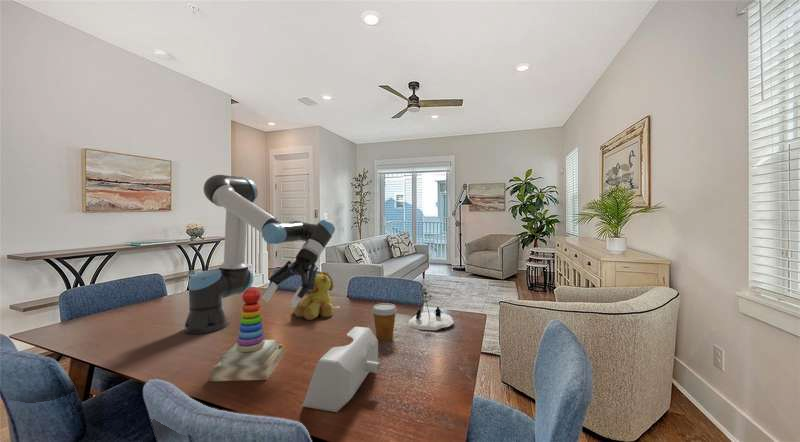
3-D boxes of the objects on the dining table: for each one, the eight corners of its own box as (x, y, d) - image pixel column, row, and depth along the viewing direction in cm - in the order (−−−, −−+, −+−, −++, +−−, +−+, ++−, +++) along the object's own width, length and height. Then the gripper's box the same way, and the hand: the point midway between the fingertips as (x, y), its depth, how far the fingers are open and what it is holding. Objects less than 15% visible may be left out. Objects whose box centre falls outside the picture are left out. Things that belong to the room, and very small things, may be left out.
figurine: (455, 316, 142) (451, 280, 142) (452, 331, 124) (448, 291, 124) (412, 317, 147) (408, 283, 146) (404, 332, 129) (399, 293, 129)
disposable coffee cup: (400, 334, 123) (400, 304, 123) (390, 343, 114) (389, 311, 114) (379, 330, 127) (379, 301, 127) (367, 339, 118) (367, 308, 118)
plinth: (210, 381, 89) (209, 360, 89) (236, 355, 105) (236, 338, 105) (267, 379, 90) (266, 359, 90) (284, 354, 106) (284, 337, 106)
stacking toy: (253, 354, 93) (252, 292, 92) (230, 352, 94) (229, 291, 94) (269, 343, 100) (269, 286, 100) (248, 341, 102) (247, 284, 101)
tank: (362, 419, 73) (362, 367, 72) (301, 409, 77) (300, 359, 76) (391, 367, 97) (391, 328, 97) (343, 361, 101) (343, 323, 100)
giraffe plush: (285, 314, 148) (284, 274, 147) (324, 302, 167) (324, 267, 166) (311, 323, 136) (311, 280, 135) (351, 310, 154) (351, 271, 154)
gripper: (339, 262, 117) (310, 313, 104) (291, 257, 128) (260, 302, 115) (330, 249, 112) (298, 301, 99) (281, 245, 123) (247, 292, 111)
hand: (278, 302), depth 107 cm, fingers open, 13 cm apart
